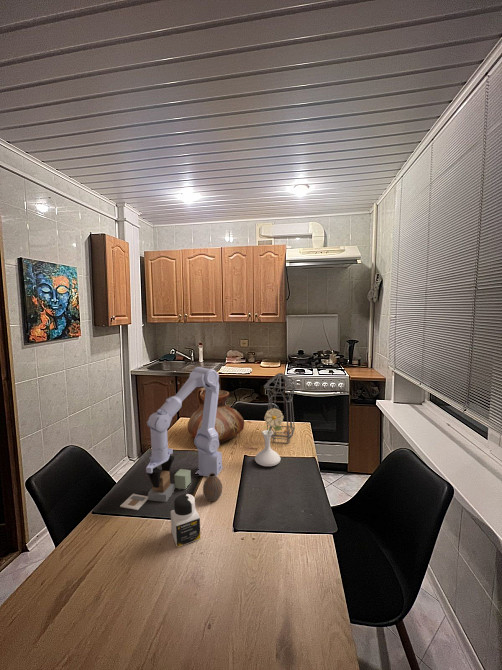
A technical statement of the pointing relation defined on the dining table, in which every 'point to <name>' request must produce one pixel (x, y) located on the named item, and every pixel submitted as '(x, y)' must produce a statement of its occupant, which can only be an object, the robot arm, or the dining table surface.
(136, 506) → the card
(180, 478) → the sage block
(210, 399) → the robot arm
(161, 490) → the walnut block
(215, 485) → the brown coconut
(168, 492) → the grey square block
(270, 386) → the geometric lantern
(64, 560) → the dining table surface
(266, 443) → the flower in vase
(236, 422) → the jug
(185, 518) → the medicine bottle
